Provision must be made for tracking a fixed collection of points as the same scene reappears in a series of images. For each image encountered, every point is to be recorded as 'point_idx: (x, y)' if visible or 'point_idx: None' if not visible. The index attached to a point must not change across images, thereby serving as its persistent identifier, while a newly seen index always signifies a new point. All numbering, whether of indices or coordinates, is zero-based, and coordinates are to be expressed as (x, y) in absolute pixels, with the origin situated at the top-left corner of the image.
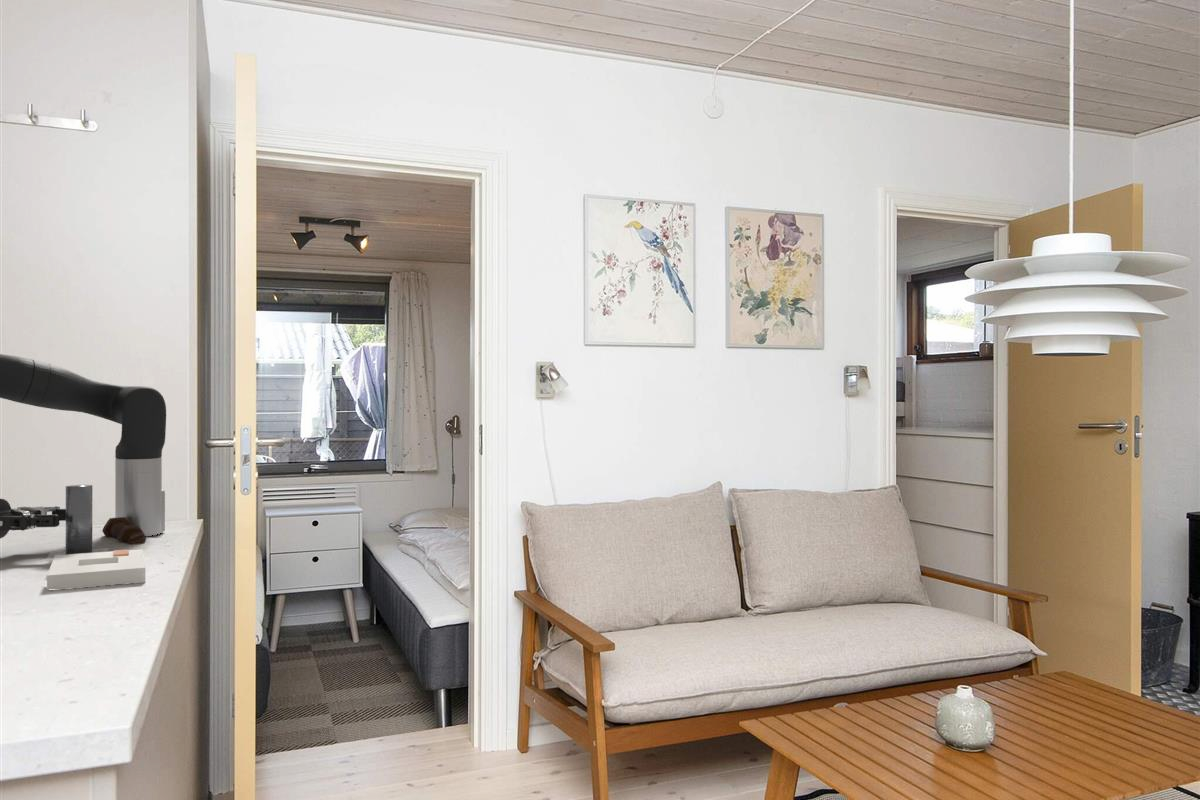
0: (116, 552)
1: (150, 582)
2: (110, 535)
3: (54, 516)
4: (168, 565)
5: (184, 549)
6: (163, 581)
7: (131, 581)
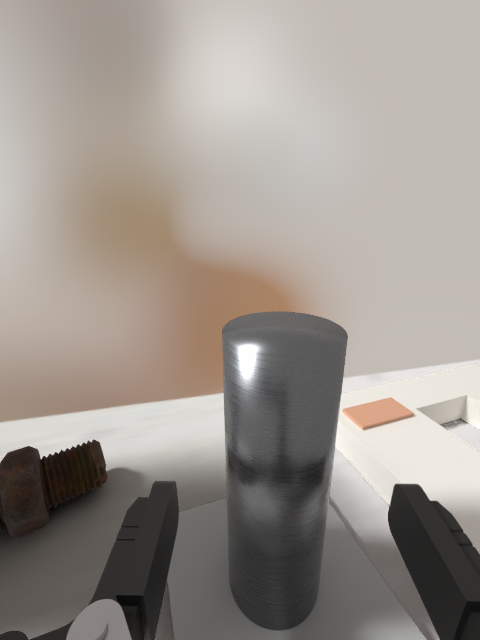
0: (386, 416)
1: None
2: None
3: (421, 496)
4: None
5: (168, 402)
6: None
7: None
